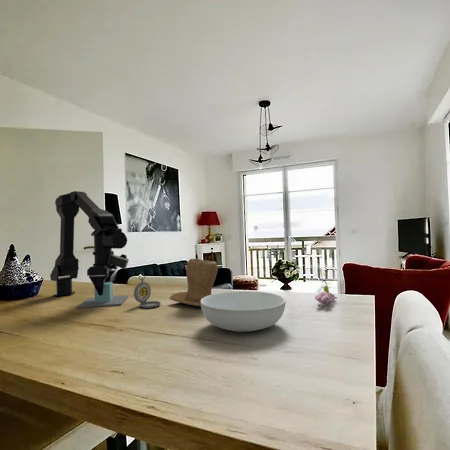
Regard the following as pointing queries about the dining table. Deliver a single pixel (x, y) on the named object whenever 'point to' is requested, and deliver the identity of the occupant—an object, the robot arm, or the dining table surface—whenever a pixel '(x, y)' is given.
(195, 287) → the tan curved piece
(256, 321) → the serving bowl
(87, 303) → the charcoal mat
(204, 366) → the dining table surface
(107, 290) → the teal block
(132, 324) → the dining table surface
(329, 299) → the stuffed toy
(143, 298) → the pocket watch
